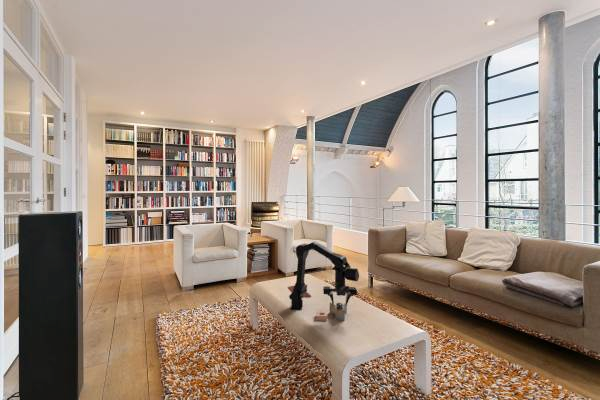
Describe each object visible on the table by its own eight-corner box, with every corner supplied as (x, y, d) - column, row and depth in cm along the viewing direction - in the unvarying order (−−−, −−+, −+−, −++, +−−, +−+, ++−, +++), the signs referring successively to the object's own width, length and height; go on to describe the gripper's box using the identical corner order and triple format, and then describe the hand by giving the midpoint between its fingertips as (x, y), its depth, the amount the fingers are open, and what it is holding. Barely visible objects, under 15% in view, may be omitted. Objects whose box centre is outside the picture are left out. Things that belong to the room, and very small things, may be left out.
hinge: (330, 320, 171) (330, 309, 170) (329, 312, 182) (329, 302, 181) (349, 320, 170) (349, 310, 170) (346, 312, 181) (346, 302, 181)
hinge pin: (336, 319, 171) (336, 305, 171) (336, 317, 175) (335, 302, 175) (343, 320, 171) (342, 305, 171) (342, 317, 175) (342, 302, 174)
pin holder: (316, 320, 170) (316, 315, 170) (316, 315, 176) (316, 311, 176) (327, 320, 170) (327, 316, 170) (326, 316, 176) (326, 311, 176)
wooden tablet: (312, 298, 207) (312, 295, 207) (298, 299, 203) (298, 297, 203) (298, 286, 232) (298, 283, 232) (285, 287, 228) (285, 285, 228)
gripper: (324, 282, 164) (323, 310, 165) (359, 283, 164) (358, 311, 164) (323, 276, 176) (322, 303, 176) (355, 277, 175) (355, 303, 176)
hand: (339, 305), depth 173 cm, fingers open, 7 cm apart
